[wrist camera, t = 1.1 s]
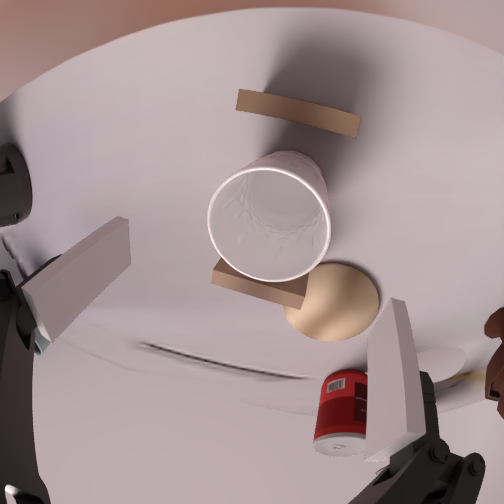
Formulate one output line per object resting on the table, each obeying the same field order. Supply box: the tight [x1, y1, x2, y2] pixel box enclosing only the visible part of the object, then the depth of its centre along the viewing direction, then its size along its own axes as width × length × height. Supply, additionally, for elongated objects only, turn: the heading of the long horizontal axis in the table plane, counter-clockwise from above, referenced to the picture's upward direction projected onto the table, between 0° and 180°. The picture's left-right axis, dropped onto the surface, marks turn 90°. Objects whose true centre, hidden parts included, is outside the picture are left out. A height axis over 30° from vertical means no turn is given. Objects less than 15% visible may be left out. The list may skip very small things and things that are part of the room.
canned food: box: [313, 370, 368, 456], centre depth 33 cm, size 8×8×11 cm
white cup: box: [207, 150, 331, 282], centre depth 22 cm, size 8×8×10 cm
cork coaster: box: [283, 263, 379, 341], centre depth 31 cm, size 11×11×1 cm
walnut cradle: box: [212, 89, 362, 310], centre depth 23 cm, size 8×16×7 cm, turn 170°
